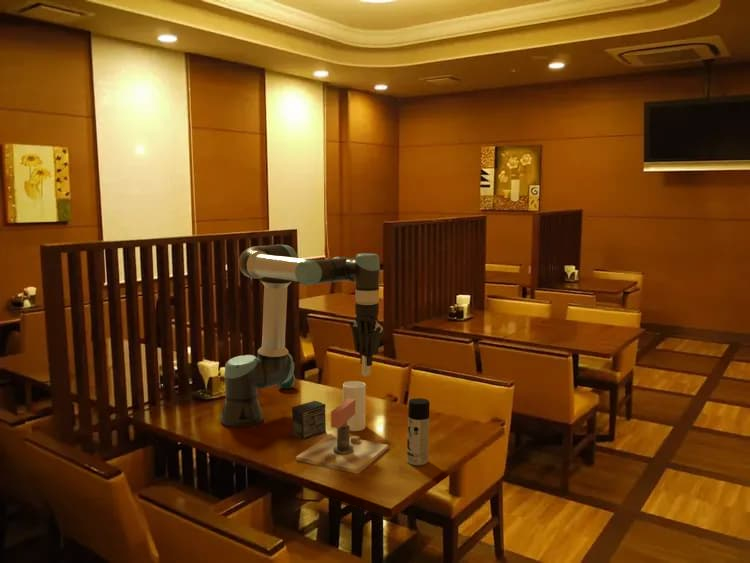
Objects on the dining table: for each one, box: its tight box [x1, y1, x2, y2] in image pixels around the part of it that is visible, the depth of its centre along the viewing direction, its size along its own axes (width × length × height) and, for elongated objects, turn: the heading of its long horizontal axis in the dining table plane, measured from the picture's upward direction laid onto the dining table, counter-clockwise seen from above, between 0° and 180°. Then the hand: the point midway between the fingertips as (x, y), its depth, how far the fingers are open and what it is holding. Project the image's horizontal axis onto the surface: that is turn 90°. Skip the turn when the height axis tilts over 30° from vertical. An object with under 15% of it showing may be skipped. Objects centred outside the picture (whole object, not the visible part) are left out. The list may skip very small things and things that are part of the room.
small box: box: [291, 400, 327, 441], centre depth 223 cm, size 11×6×10 cm, turn 135°
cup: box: [342, 380, 367, 432], centre depth 230 cm, size 8×8×16 cm
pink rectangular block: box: [330, 398, 355, 429], centre depth 205 cm, size 14×3×7 cm, turn 160°
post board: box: [295, 425, 389, 475], centre depth 206 cm, size 22×22×9 cm
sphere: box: [278, 373, 296, 390], centre depth 274 cm, size 8×8×8 cm
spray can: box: [406, 397, 431, 467], centre depth 201 cm, size 7×7×20 cm
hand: (366, 374), depth 204 cm, fingers closed
